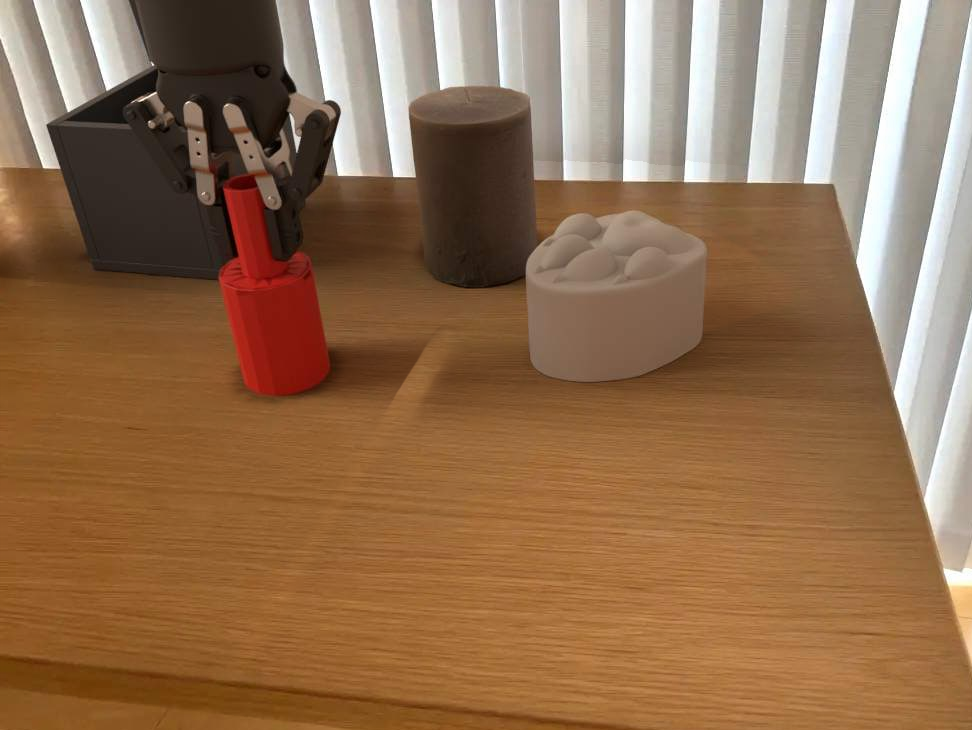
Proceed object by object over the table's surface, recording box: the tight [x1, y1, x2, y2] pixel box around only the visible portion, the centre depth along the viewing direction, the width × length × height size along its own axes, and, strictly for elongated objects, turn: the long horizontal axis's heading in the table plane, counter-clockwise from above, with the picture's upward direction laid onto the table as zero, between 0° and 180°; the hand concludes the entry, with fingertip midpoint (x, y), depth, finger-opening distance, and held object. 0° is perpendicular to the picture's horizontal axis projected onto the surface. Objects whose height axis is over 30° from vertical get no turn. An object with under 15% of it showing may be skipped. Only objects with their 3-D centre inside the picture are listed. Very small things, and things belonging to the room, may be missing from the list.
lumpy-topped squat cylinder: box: [525, 210, 708, 383], centre depth 72 cm, size 10×13×9 cm
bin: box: [45, 64, 307, 281], centre depth 89 cm, size 16×13×13 cm
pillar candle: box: [408, 85, 539, 288], centre depth 82 cm, size 10×10×15 cm
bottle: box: [218, 174, 331, 397], centre depth 67 cm, size 6×6×15 cm
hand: (261, 253), depth 65 cm, fingers closed on bottle, 3 cm apart
